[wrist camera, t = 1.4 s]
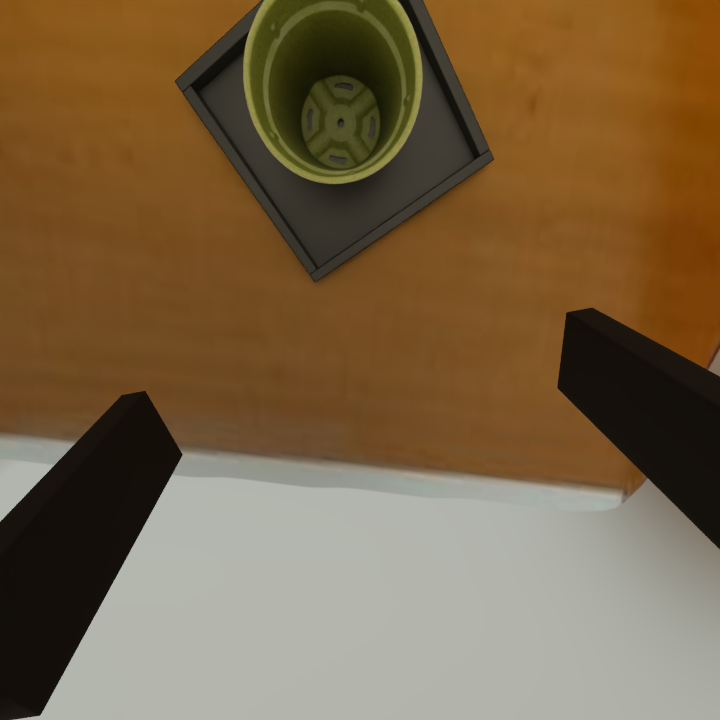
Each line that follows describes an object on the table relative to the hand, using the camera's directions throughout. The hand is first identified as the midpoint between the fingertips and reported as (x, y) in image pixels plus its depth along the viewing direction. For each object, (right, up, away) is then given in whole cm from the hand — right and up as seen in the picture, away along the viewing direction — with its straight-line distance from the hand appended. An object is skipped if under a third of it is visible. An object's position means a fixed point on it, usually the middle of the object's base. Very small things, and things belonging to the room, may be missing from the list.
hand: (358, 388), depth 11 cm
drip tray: (-1, +19, +15) cm, 24 cm away
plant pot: (-1, +19, +15) cm, 24 cm away
